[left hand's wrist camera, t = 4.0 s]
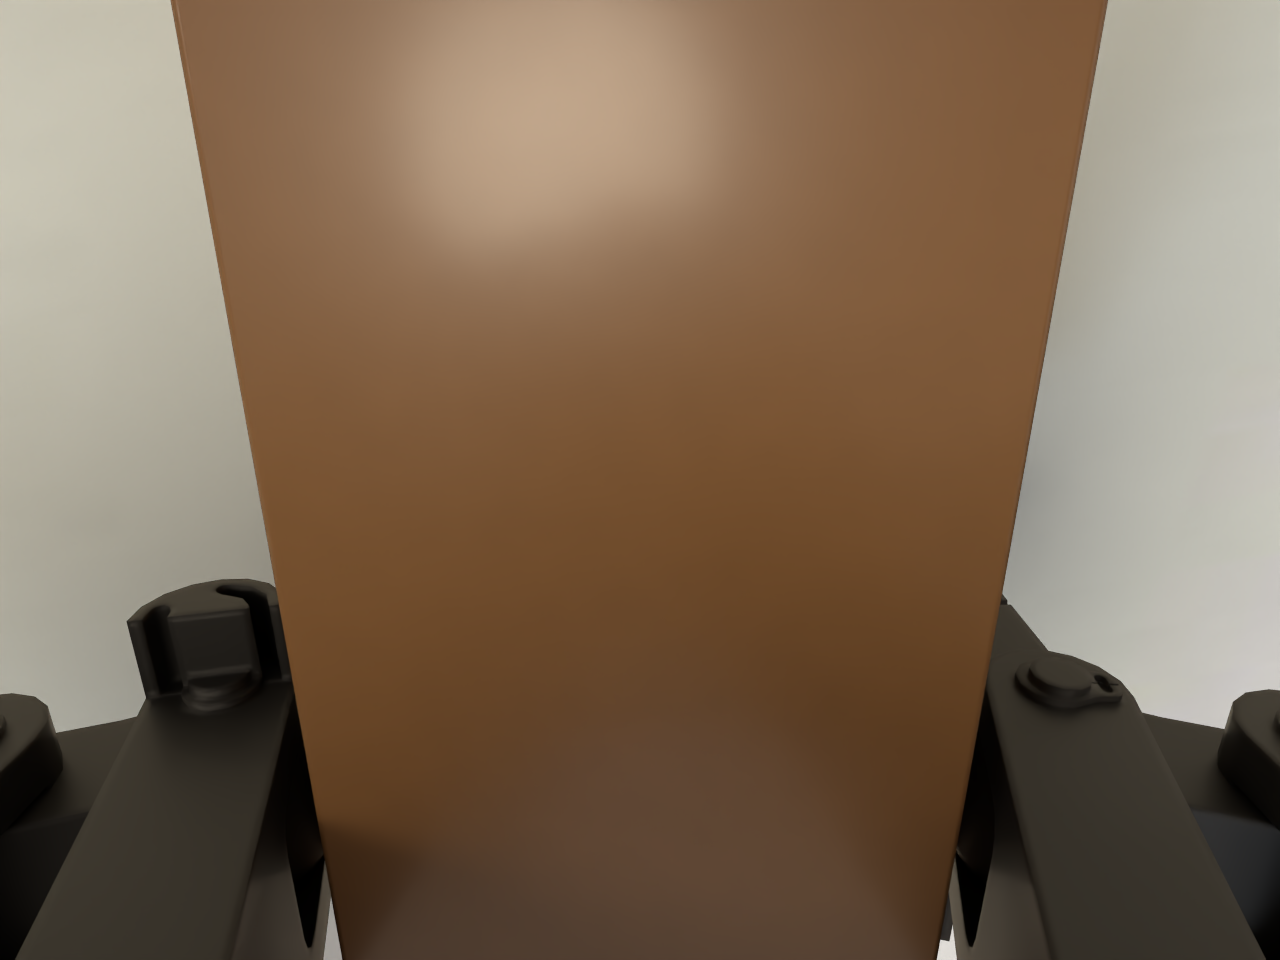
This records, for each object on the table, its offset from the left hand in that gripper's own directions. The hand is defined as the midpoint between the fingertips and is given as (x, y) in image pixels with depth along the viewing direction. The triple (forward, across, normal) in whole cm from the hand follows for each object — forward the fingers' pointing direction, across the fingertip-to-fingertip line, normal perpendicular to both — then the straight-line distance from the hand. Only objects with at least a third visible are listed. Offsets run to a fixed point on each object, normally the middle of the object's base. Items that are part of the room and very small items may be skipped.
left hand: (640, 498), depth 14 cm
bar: (+1, 0, -9) cm, 9 cm away
